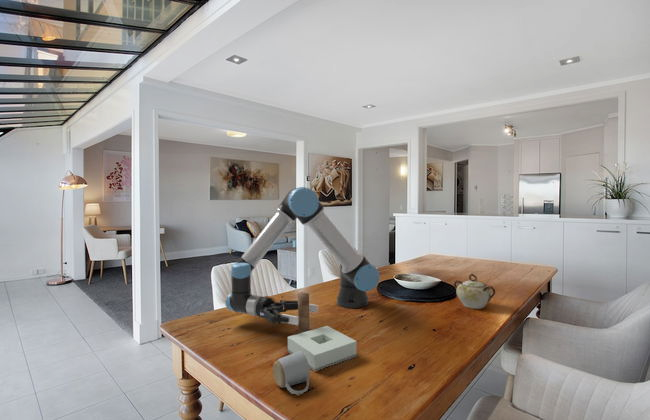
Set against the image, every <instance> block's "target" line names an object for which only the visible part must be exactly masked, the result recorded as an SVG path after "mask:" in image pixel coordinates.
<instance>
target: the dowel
mask: <svg viewBox="0 0 650 420" xmlns="http://www.w3.org/2000/svg"><path fill="white" fill-rule="evenodd" d="M297 301H298V310H297V317H298V325H297V332H298V333H297V334H300V333H303V332H307V331H310V312H309V304H310V293H308V292H300V293H298V294H297Z"/></svg>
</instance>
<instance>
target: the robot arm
mask: <svg viewBox="0 0 650 420" xmlns="http://www.w3.org/2000/svg"><path fill="white" fill-rule="evenodd" d="M324 211H325V207H324V205H323V204H322V203H321V201H320V200H319V197H318V195H317V193H316V192H315V190H312V189H311V188H309V187H305V186H301V187H297V188H296V187H295V188H293V189H291V190H289V191H288V192H287V193H286V195H285V197H284V198H283V200H282V201H281V202H280V204H279V205H278V206H277V208H276V212H275V214H274V215H273V216H272V217H271V219H270V220H269V222H268V223H267V224H266V225H265V226H264V227H263V229H262V230H261V232H260V233H259V234H258V235H257V237H256V238H255V239H254V240H253V241H252V243H251V244H250V245H249V247H248V248H247V249H246V250H245V251H244V253H243V254H242V255H241V257H240V258H239V259H238V260H237V261H236V262H235V263H233V264H232V265H231V267H230V268H231V269H230V276H231V278H230V279H231V282H230V283H231V292H230V293H228V294H227V296H226V300H225V307H226V309H227V310H229V311H232V312H234V313H237V314H238V313H240V314H245V315H252V316H254V317H259V318H263V319H265V320H266V321H268V322H270V323H271V324H273V325H276V324H277V325H279V326H280V325H281V323H282V324H283V323H285V324H290V325H294V326H298V315H296V316H295V315H290V314H286V313H285V312H287V311H296V310H297V311H298V300H283V299H281V300H280V301H276V302H274V301H273V299H272V298H269V297H264V296H263V295H256V294H252V285H251V284H252V283H251V282H252V281H251V280H252V278H251V277H252V275H251V274H252V272H253V271H254V269H255V268H256V266H257V265H258V264H259V263H260V262H261V260H262V259H263V258H264V257H265V255H266V254H267V253H268V252H269V250H270V249H271V248H272V246H273V245H274V244H275V242H276V241H277V240H278V239H279V238H280V236H281V235H282V234H283V232H284V231H285V230H286V228H287V227H288V226H289V224H291V223H295V221H296V220H298V221H299V222H300V223H301V224H302V225H304V226H308V227H309V229H310V230H311V231H312V232H313V233H314V235H315V236H316V237H317V238H318V239H319V240H320V241H321V243H322V244H323V245H324V247H326V249H327V250H328V251H329V252H330V254H331V255H332V256H333V257H334V259H336V260H337V261H338V263H339V269H340V270H339V272H340V273H339V274H340V278H339V281H340V283H339V286H340V288H339V290H338V291H339V292H338V294H337V297H336V304H337V305H338V306H339V307H342V308H347V309H359V308H364V307H367V306H368V305H369V297H368V294H367V292H369V291H373V290H374V289H375V288H376V287H377V286H378V284H379V282H380V277H381V276H380V272H379V270H378V269H377V267H376V266H375V265H373V264H371V262H370V261H369V260H368V259H367V258H366V257H365V255H364V254H363V253H358V252H357V251H356V249H354V248H353V246H352V245H351V244H350V242H348V240H347V239H346V237H344V235H343V234H342V233H341V231H340V230H339V229H338V228H337V227H336V226H335V224H334V223H333V221H331V220H330V218H329V217H328V215H327V214H326V213H325V212H324ZM318 306H319V305H318V304H313V303H312V304H311V303H309V313H315V314H316V313H318V312H319V307H318Z"/></svg>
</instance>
